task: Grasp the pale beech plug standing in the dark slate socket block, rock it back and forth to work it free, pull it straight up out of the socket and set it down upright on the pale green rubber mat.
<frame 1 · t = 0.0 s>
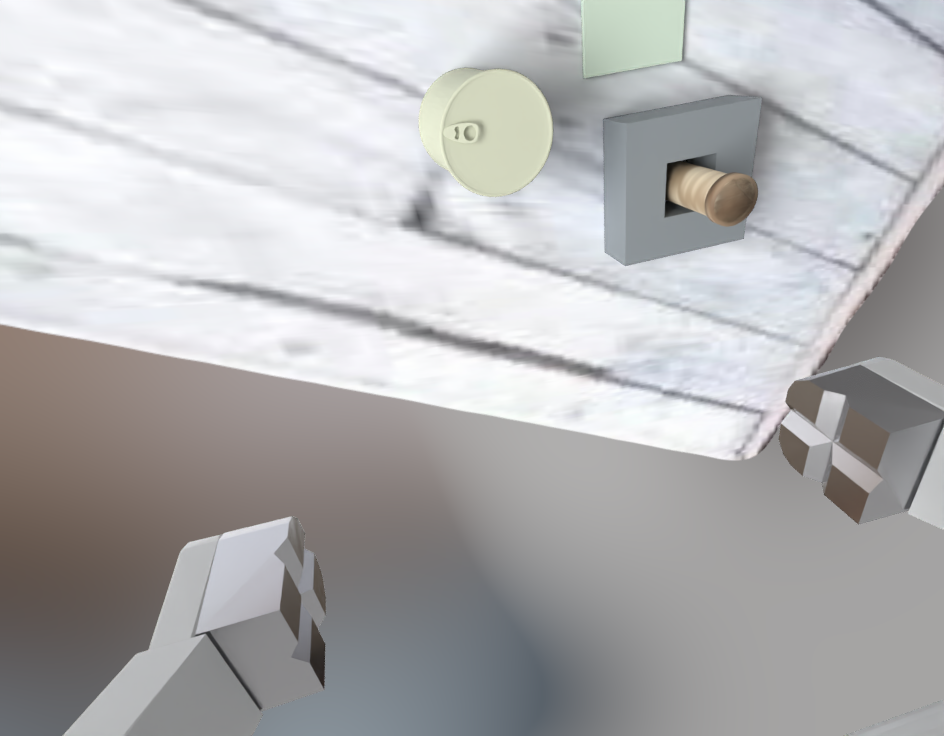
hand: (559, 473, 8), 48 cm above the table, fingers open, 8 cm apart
plug: (663, 177, 57), resting in socket
mat: (632, 7, 49), on the table
socket: (663, 177, 57), on the table
can: (465, 122, 50), on the table
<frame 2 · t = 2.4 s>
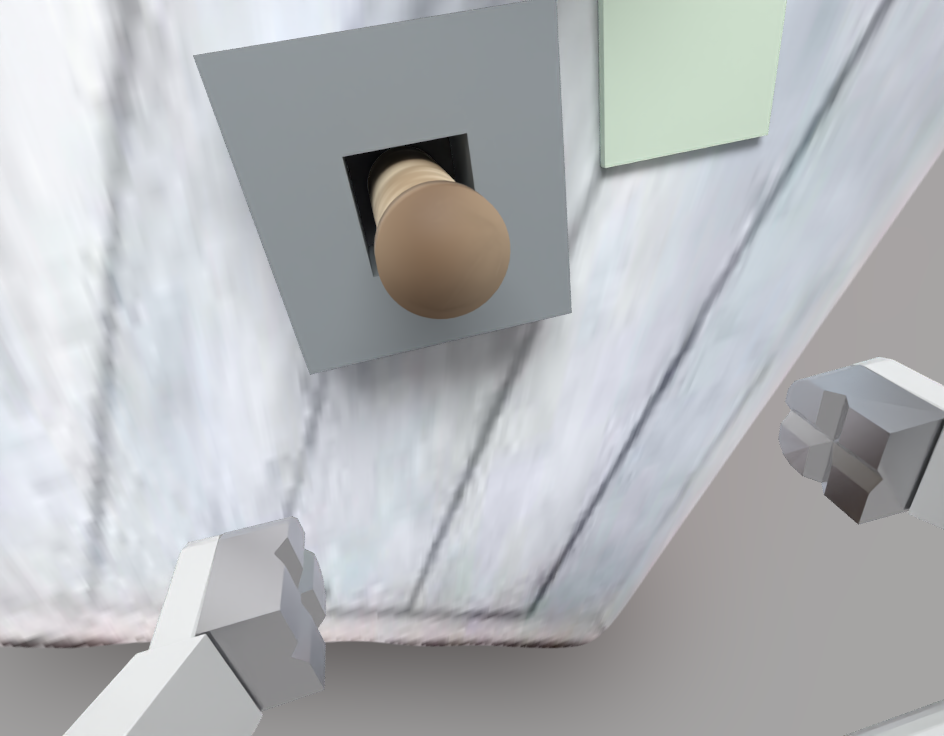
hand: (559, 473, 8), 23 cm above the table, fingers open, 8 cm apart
plug: (405, 186, 28), resting in socket
mat: (688, 49, 28), on the table
socket: (405, 186, 28), on the table
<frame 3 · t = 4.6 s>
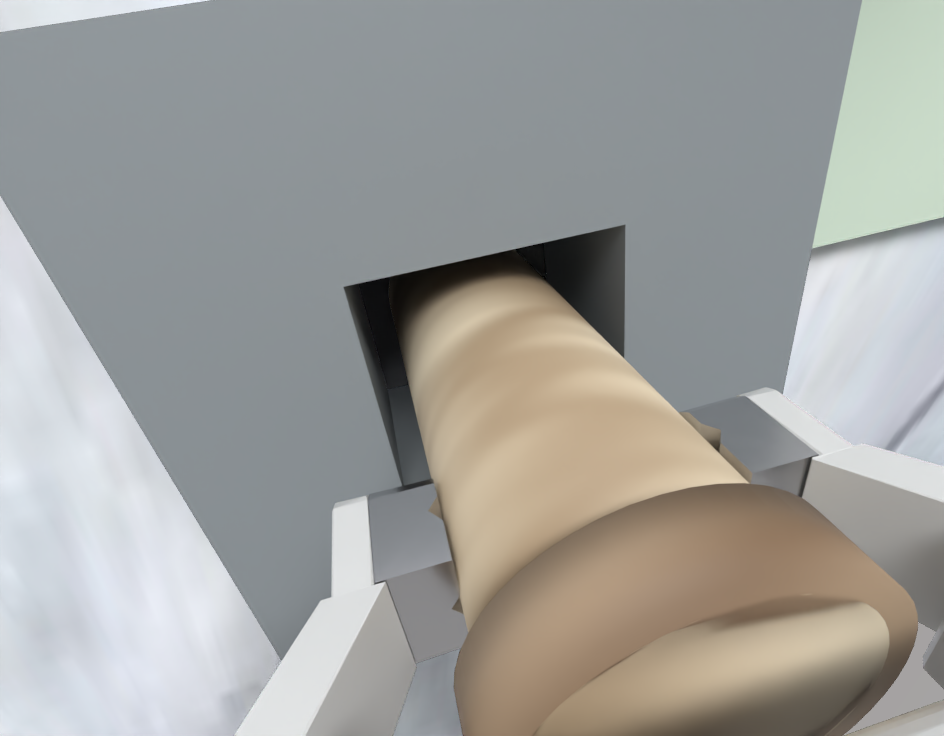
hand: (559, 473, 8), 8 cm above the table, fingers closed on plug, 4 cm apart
plug: (457, 291, 15), resting in socket, touching gripper
socket: (457, 291, 15), on the table
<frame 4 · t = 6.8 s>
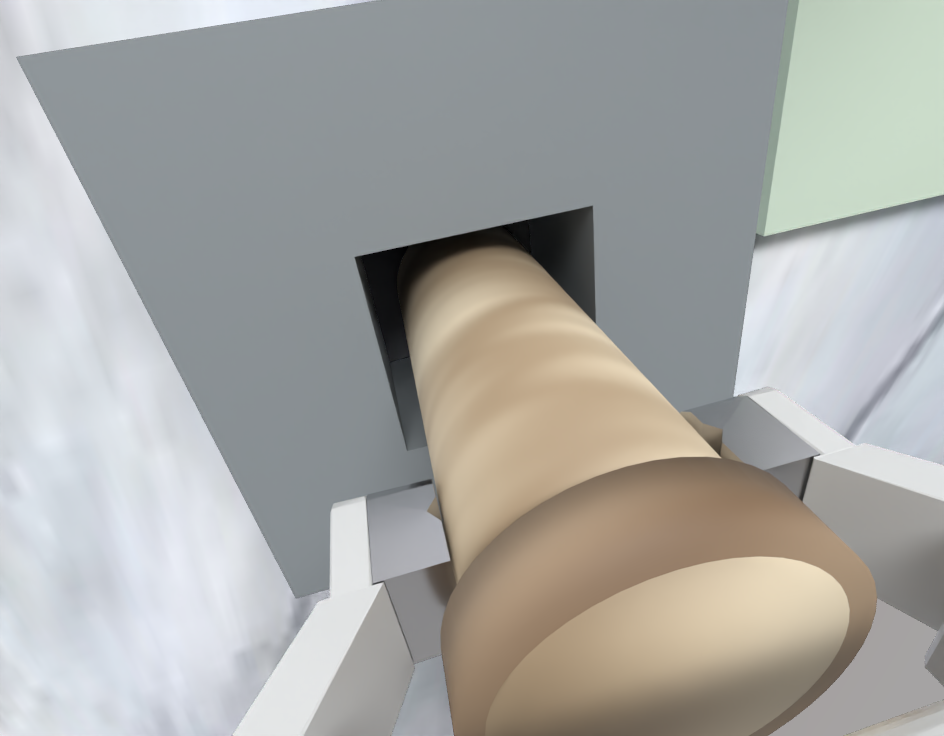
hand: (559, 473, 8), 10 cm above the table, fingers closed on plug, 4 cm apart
plug: (464, 283, 16), point 2 cm above the table, touching gripper
mat: (912, 48, 17), on the table
socket: (452, 271, 17), on the table
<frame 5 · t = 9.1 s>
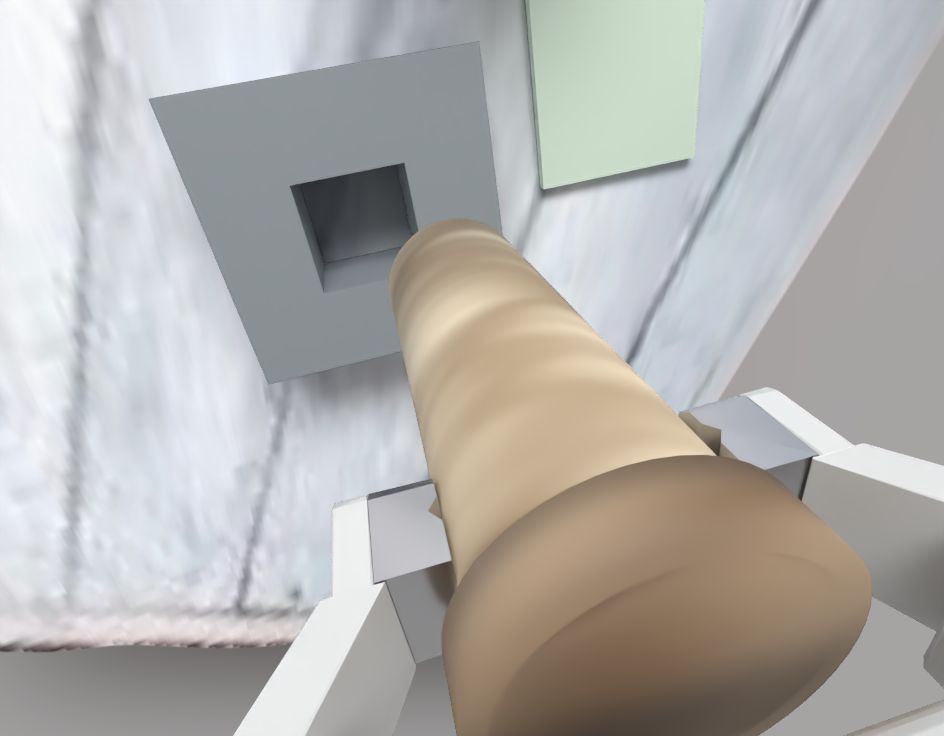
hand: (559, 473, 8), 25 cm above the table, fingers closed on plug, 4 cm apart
plug: (456, 285, 16), point 17 cm above the table, touching gripper
mat: (615, 80, 30), on the table
socket: (357, 208, 30), on the table
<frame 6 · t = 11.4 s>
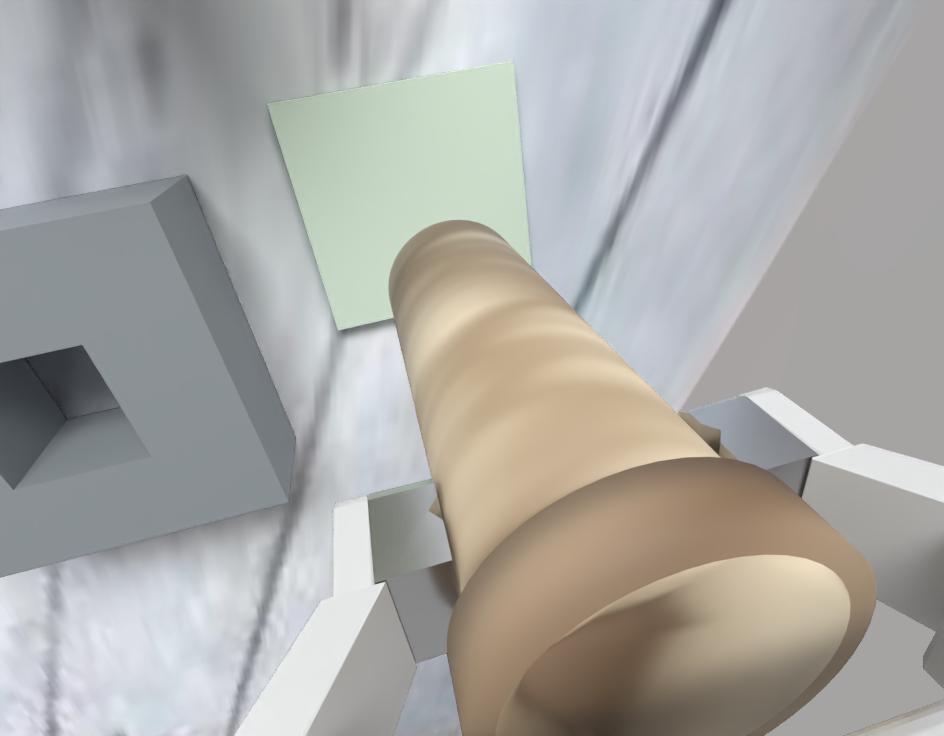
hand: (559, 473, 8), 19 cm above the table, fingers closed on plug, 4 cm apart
plug: (455, 287, 16), point 10 cm above the table, touching gripper
mat: (416, 204, 24), on the table
socket: (96, 359, 24), on the table
when the fingers open (10 cm above the table, at t = 13.7 s): plug stays where it is, resting on mat.
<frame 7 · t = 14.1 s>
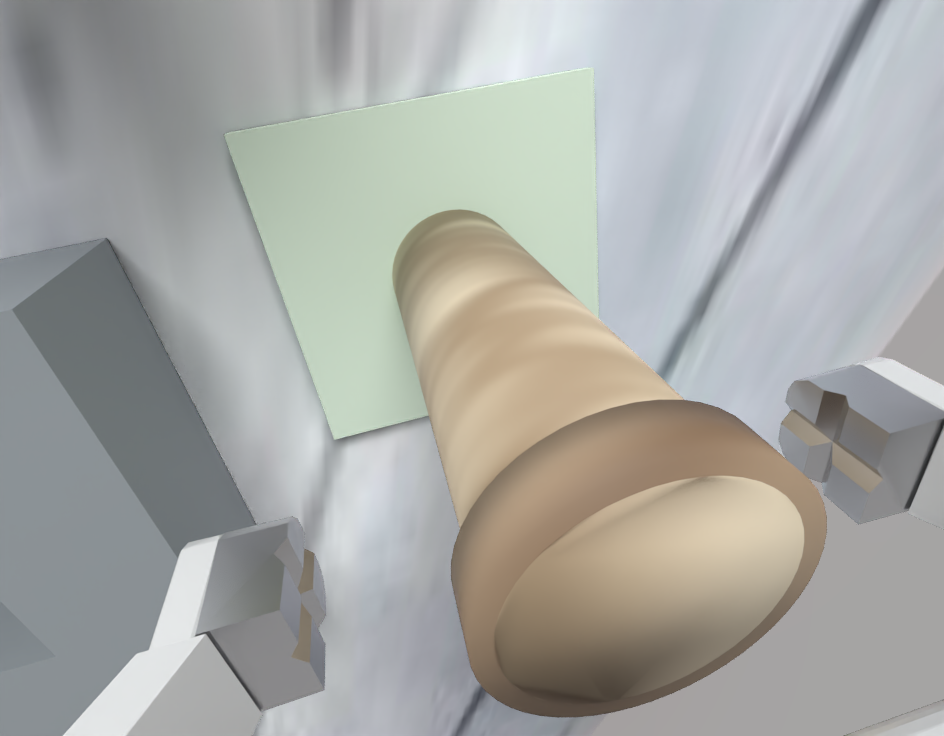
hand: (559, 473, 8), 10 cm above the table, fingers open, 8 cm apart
plug: (456, 274, 16), point 1 cm above the table, touching mat
mat: (444, 270, 17), on the table
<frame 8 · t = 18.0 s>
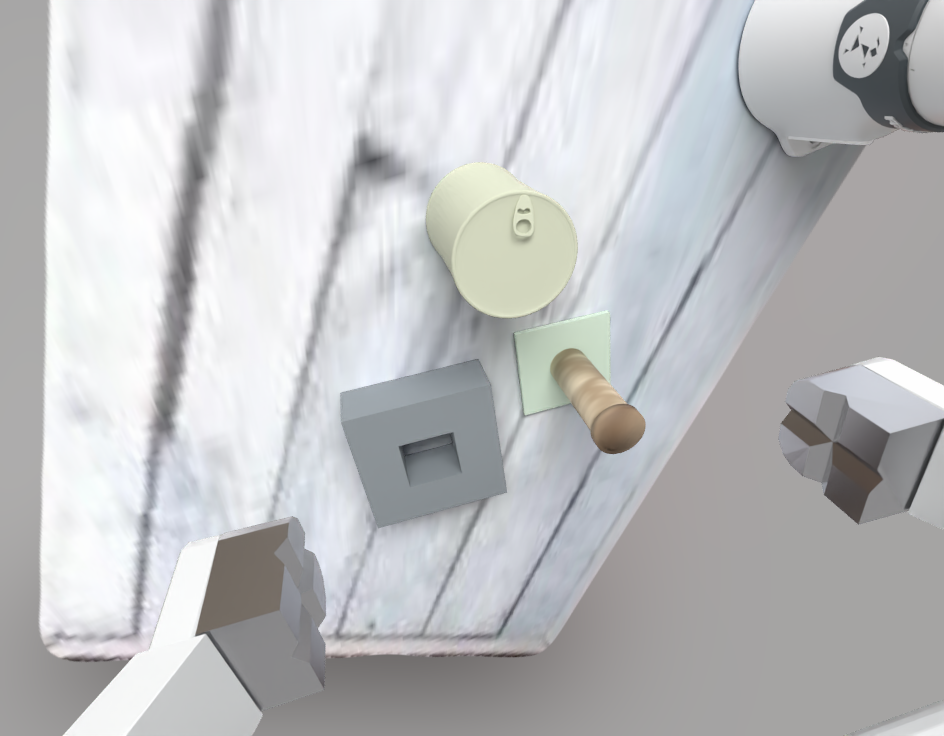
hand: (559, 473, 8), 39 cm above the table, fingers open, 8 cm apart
plug: (568, 365, 55), point 1 cm above the table, touching mat
mat: (563, 363, 56), on the table
socket: (423, 430, 56), on the table
can: (477, 217, 46), on the table
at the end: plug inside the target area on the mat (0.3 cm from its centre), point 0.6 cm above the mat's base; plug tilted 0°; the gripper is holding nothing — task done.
